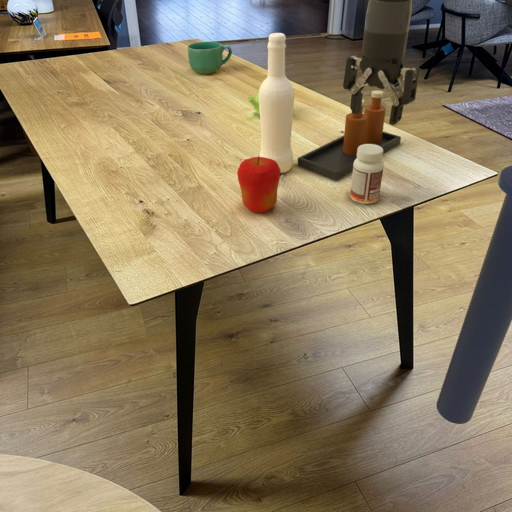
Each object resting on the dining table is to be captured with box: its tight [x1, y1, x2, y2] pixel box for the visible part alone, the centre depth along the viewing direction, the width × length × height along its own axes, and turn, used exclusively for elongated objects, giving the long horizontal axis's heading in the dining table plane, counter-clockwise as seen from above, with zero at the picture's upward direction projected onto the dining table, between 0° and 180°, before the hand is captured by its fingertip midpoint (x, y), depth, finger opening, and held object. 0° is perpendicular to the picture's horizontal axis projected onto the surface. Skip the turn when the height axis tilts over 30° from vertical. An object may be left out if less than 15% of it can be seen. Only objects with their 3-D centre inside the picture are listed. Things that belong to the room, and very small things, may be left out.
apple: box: [236, 156, 281, 213], centre depth 97 cm, size 9×8×12 cm
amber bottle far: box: [363, 89, 387, 145], centre depth 121 cm, size 5×5×13 cm
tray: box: [297, 131, 402, 181], centre depth 120 cm, size 28×12×2 cm, turn 135°
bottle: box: [258, 32, 295, 175], centre depth 107 cm, size 8×8×30 cm
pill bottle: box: [349, 144, 385, 205], centre depth 99 cm, size 6×6×11 cm
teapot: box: [247, 87, 260, 116], centre depth 142 cm, size 11×12×8 cm
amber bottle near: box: [343, 98, 368, 155], centre depth 117 cm, size 5×5×13 cm
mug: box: [187, 41, 233, 75], centre depth 180 cm, size 17×13×10 cm
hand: (374, 118), depth 92 cm, fingers open, 8 cm apart
